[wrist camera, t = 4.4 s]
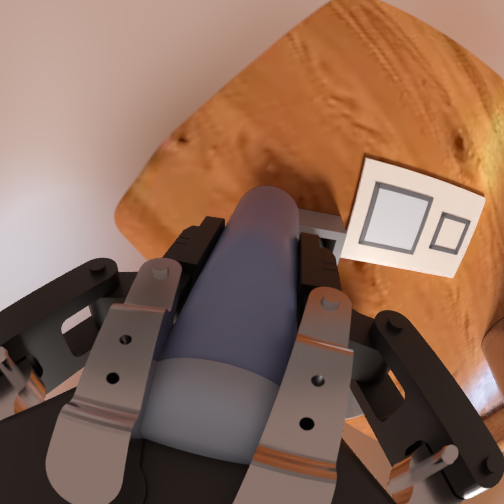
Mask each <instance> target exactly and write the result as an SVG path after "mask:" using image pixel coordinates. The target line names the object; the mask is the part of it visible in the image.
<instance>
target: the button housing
mask: <svg viewBox="0 0 504 504" xmlns="http://www.w3.org/2000/svg"><path fill="white" fill-rule="evenodd" d="M298 212H299V234H300V233H301V232H305V233H310V234H316V235H319V237H321V238H327V241H326V245H325V248H327V249H330V251H331V252H332V253H333V254H334V255H335V257H336V262H337V265H338V262H339V259H340V256H341V252H342V249H343V246H344V242H345V239H346V236H347V233H346V230H345V227H344V224H343V221H342V218H341V216H337V215H332V214H327V213H321V212H316V211H311V210H305V209H300V208H298Z"/></svg>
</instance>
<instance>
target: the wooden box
mask: <svg viewBox="0 0 504 504" xmlns="http://www.w3.org/2000/svg"><path fill="white" fill-rule="evenodd" d="M483 422H484V423H485V425H486V427H487V428H488V430H489V431H490V433H491V435H492V436H493V438H494V440H495V441H496V443H497V445H498V446H499V448H500V450H501V452H502V451H504V407H502V408H501V409H499V410H498V411H496V412H495V413H493V414H492V415H490V416H488V417H487V418H485V419H483Z"/></svg>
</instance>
